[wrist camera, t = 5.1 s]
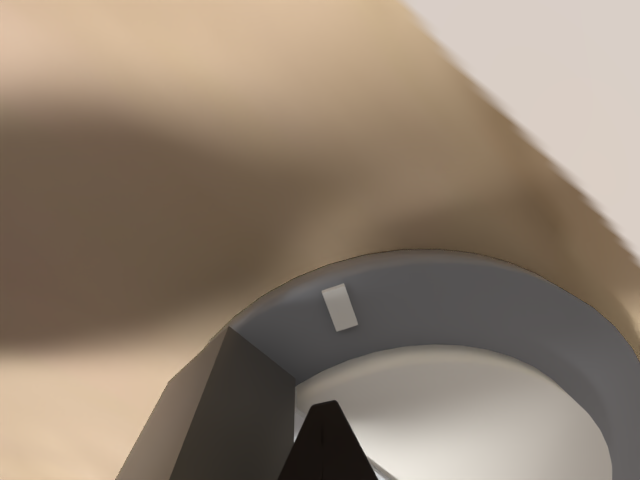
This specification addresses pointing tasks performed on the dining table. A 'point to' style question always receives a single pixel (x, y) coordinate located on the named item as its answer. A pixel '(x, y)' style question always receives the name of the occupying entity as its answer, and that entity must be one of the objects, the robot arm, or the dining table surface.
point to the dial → (370, 417)
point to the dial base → (454, 328)
